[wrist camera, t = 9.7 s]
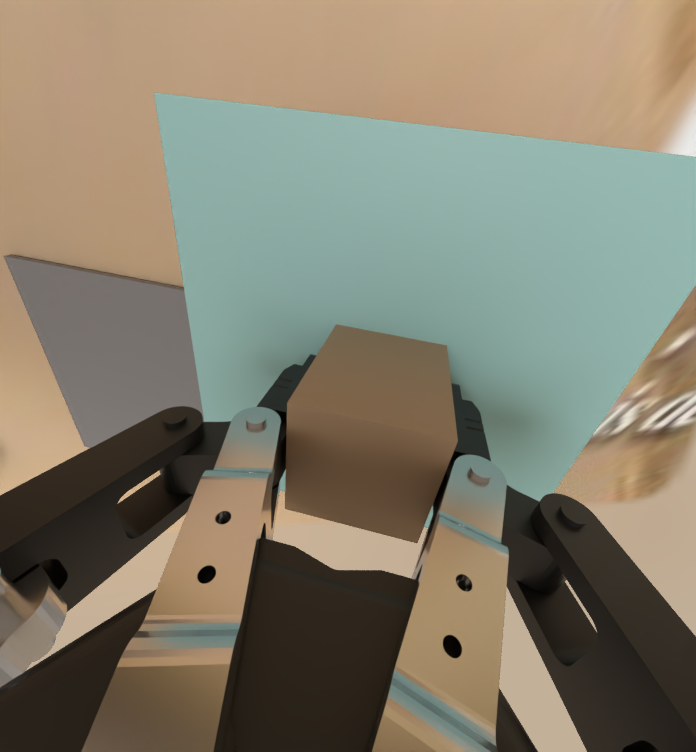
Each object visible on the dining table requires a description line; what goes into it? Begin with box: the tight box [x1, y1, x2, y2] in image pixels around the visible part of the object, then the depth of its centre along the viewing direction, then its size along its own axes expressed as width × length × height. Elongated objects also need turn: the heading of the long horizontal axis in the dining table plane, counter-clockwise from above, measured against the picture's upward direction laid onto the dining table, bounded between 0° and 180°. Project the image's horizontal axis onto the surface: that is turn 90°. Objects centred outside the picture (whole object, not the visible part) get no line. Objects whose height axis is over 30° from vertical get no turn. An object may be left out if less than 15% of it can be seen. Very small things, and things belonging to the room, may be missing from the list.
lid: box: [154, 93, 696, 543], centre depth 11 cm, size 16×16×6 cm
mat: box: [4, 255, 204, 448], centre depth 27 cm, size 18×18×1 cm
